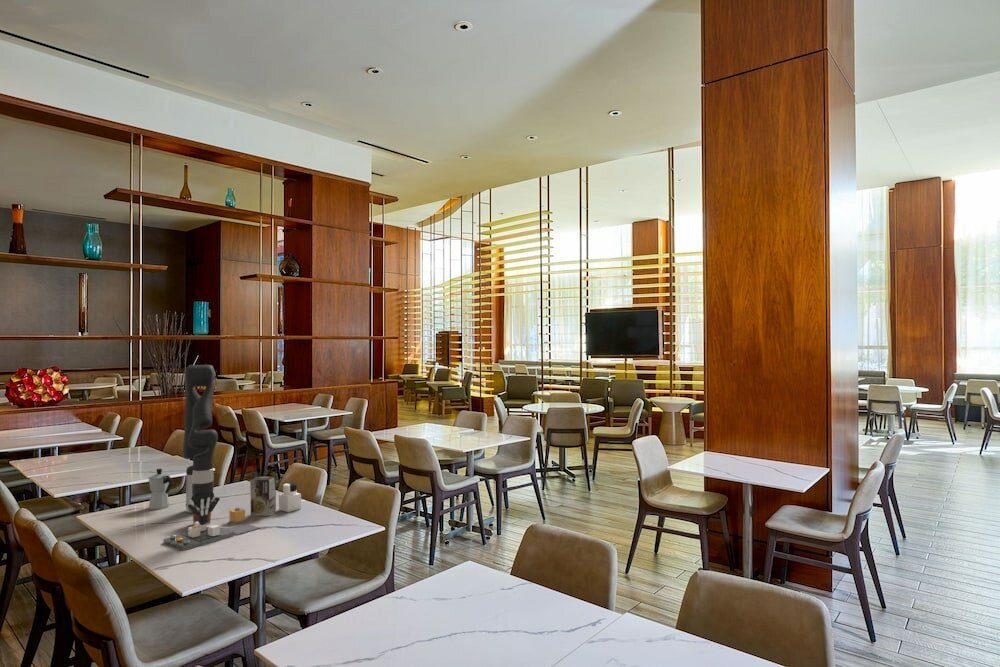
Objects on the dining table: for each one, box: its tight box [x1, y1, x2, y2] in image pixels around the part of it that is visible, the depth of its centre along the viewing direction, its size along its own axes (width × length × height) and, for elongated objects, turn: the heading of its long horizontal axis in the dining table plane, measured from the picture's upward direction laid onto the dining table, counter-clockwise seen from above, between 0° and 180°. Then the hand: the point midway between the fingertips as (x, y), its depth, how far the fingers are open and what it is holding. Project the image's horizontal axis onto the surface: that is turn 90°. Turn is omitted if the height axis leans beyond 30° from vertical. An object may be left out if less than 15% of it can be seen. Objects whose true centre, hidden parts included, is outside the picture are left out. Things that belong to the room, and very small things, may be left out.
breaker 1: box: [195, 521, 207, 531], centre depth 232 cm, size 4×3×3 cm
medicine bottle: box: [278, 482, 302, 513], centre depth 267 cm, size 7×7×12 cm
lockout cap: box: [228, 507, 246, 525], centre depth 249 cm, size 5×5×6 cm
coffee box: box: [250, 476, 277, 517], centre depth 260 cm, size 9×6×16 cm
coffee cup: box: [190, 500, 212, 526], centre depth 246 cm, size 9×9×12 cm
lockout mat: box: [226, 522, 261, 536], centre depth 238 cm, size 10×10×1 cm
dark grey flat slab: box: [162, 526, 235, 551], centre depth 226 cm, size 15×20×2 cm
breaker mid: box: [187, 525, 200, 538], centre depth 225 cm, size 4×3×3 cm
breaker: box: [207, 524, 220, 536], centre depth 226 cm, size 4×3×3 cm
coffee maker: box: [147, 468, 174, 511], centre depth 272 cm, size 15×9×18 cm, turn 67°
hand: (202, 524), depth 228 cm, fingers closed
